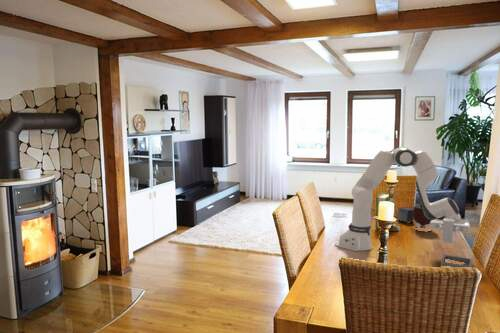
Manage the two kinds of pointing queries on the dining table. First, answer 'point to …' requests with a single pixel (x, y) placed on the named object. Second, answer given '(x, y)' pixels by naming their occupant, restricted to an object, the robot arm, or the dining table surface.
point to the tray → (467, 261)
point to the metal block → (448, 230)
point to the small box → (405, 214)
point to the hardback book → (381, 198)
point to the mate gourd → (420, 216)
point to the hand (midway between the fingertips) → (448, 229)
